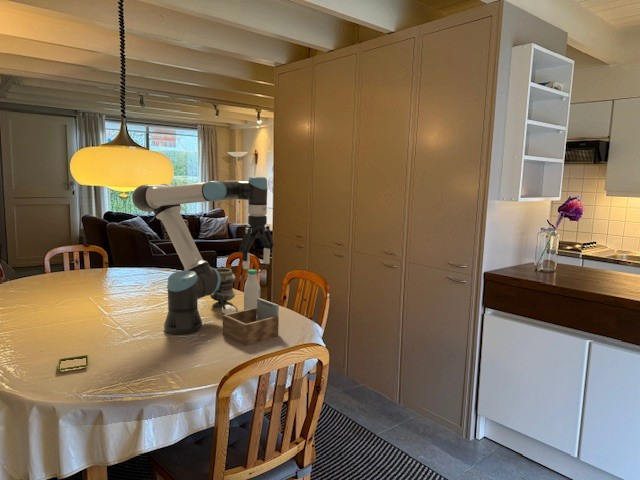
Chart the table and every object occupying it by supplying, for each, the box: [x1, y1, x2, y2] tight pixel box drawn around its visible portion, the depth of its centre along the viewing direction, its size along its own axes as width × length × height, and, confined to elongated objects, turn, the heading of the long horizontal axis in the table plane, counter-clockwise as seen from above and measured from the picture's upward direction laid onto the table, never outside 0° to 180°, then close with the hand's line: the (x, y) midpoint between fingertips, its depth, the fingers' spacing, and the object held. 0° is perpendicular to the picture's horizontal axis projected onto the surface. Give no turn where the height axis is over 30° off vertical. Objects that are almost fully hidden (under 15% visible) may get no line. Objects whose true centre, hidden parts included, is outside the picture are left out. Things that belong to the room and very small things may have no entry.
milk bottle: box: [243, 268, 261, 310], centre depth 207 cm, size 8×8×20 cm
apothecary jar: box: [209, 267, 236, 309], centre depth 215 cm, size 12×12×18 cm
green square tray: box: [57, 354, 89, 371], centre depth 145 cm, size 9×9×2 cm
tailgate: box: [257, 297, 279, 321], centre depth 182 cm, size 2×13×10 cm, turn 44°
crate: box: [221, 308, 280, 346], centre depth 177 cm, size 16×16×8 cm
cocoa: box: [219, 295, 238, 315], centre depth 195 cm, size 10×6×12 cm, turn 114°
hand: (256, 266), depth 182 cm, fingers open, 13 cm apart
